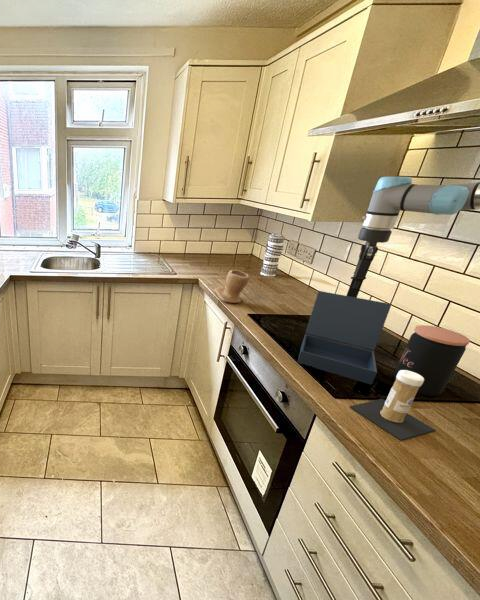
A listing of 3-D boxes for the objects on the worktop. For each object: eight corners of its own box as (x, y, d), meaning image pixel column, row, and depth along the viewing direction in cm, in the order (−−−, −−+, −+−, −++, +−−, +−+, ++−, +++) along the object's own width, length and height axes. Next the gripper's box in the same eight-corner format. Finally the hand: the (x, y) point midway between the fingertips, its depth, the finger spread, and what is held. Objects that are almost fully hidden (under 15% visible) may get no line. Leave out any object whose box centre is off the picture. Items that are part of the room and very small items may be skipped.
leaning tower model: (258, 274, 197) (267, 234, 187) (260, 271, 204) (269, 232, 194) (275, 277, 192) (285, 236, 182) (276, 273, 199) (287, 234, 189)
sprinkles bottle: (399, 426, 79) (421, 382, 74) (376, 415, 83) (396, 372, 78) (405, 419, 82) (427, 376, 76) (383, 409, 85) (402, 367, 80)
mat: (434, 431, 79) (435, 429, 78) (400, 441, 76) (401, 439, 75) (381, 399, 89) (382, 398, 89) (349, 407, 86) (350, 405, 86)
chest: (371, 384, 96) (377, 372, 94) (297, 362, 106) (300, 351, 105) (368, 362, 107) (373, 351, 105) (301, 344, 118) (305, 333, 116)
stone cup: (247, 305, 152) (253, 276, 146) (221, 304, 153) (226, 274, 147) (237, 294, 165) (243, 266, 160) (213, 293, 167) (218, 265, 161)
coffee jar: (394, 371, 102) (417, 321, 95) (442, 387, 94) (471, 334, 88) (388, 384, 96) (412, 332, 89) (439, 402, 88) (469, 347, 81)
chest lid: (391, 304, 100) (391, 303, 101) (318, 290, 111) (318, 290, 112) (374, 350, 104) (374, 349, 105) (305, 333, 115) (305, 332, 116)
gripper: (360, 224, 107) (338, 289, 116) (362, 229, 98) (337, 299, 107) (390, 227, 103) (364, 293, 112) (394, 232, 93) (366, 305, 102)
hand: (351, 296), depth 109 cm, fingers closed
